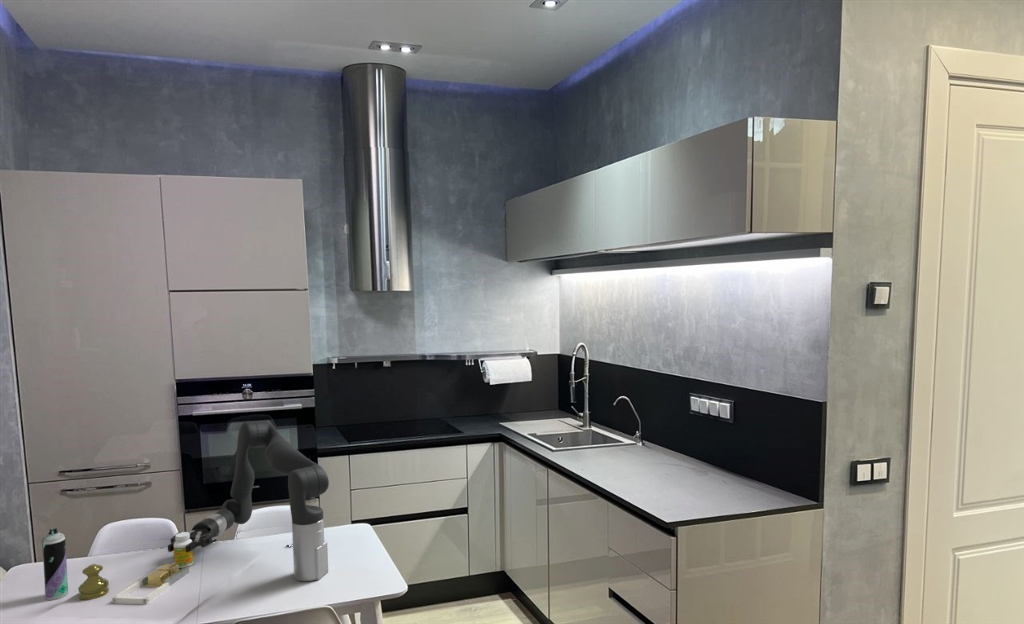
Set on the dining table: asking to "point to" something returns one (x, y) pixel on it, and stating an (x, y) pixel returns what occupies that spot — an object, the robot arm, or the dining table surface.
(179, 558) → the supplement bottle
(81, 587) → the gold metal knob shape
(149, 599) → the tray
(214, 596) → the dining table surface
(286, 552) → the dining table surface
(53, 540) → the spray can
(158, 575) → the tan block
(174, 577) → the rail
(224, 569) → the dining table surface
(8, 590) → the dining table surface
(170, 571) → the chip
